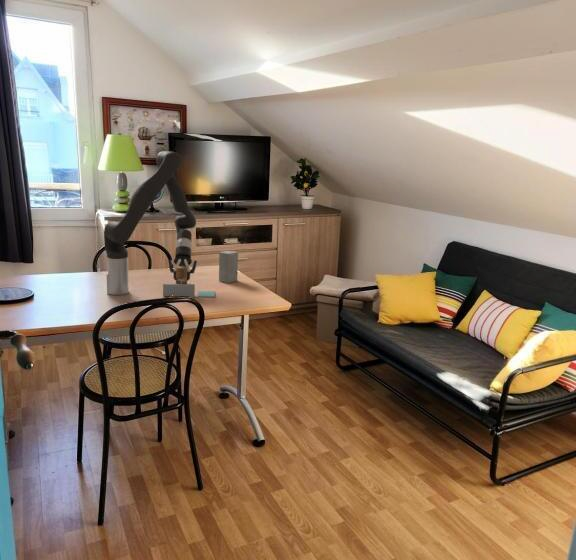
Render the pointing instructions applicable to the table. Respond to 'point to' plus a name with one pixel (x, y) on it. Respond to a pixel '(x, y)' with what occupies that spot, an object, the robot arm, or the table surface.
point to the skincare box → (228, 266)
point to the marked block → (181, 274)
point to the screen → (179, 290)
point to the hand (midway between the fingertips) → (181, 279)
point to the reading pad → (206, 294)
